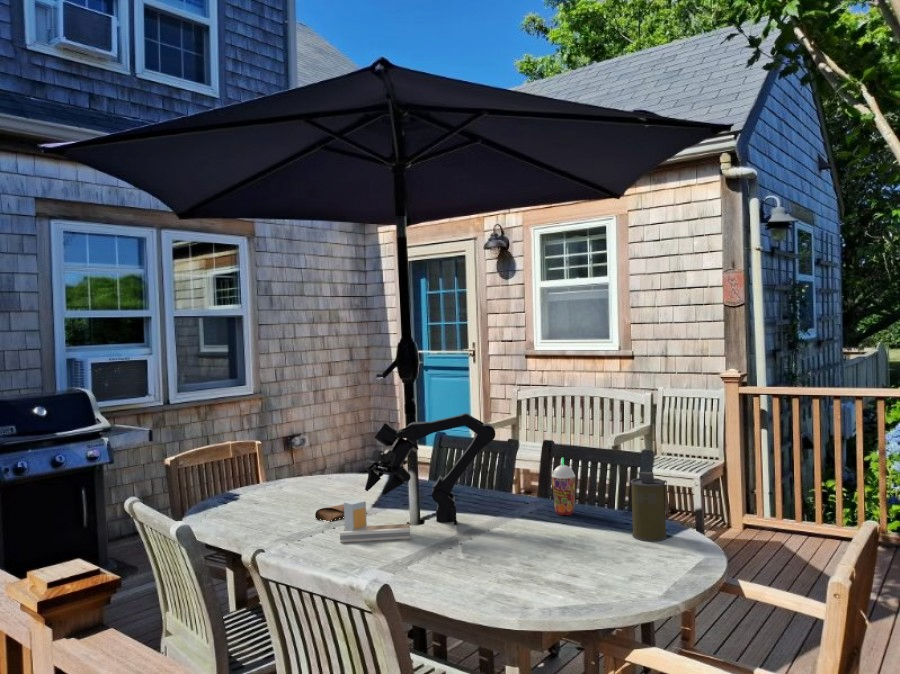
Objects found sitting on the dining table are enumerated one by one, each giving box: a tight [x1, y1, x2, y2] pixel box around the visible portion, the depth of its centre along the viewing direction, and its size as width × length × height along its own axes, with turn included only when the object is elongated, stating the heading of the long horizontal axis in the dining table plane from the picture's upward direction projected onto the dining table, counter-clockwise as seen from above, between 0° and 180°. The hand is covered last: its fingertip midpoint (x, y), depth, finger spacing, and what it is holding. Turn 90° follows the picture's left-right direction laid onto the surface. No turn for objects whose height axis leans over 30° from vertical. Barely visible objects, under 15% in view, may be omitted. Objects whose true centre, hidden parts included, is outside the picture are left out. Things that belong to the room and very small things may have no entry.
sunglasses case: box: [314, 503, 344, 521], centre depth 266 cm, size 18×7×7 cm
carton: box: [343, 498, 368, 531], centre depth 237 cm, size 6×5×11 cm
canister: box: [630, 471, 669, 542], centre depth 227 cm, size 11×10×20 cm
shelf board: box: [339, 523, 411, 544], centre depth 239 cm, size 22×18×1 cm
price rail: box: [339, 527, 411, 543], centre depth 231 cm, size 22×2×3 cm, turn 93°
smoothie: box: [551, 457, 576, 516], centre depth 257 cm, size 8×8×20 cm
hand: (374, 492), depth 242 cm, fingers open, 9 cm apart
